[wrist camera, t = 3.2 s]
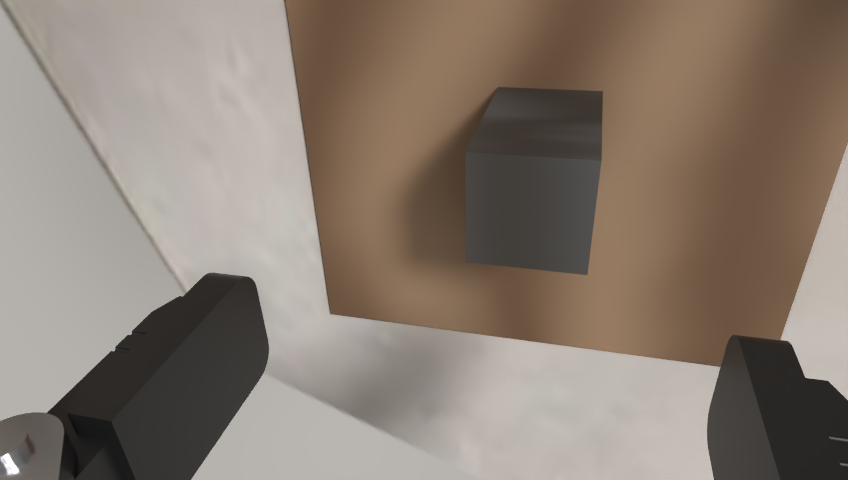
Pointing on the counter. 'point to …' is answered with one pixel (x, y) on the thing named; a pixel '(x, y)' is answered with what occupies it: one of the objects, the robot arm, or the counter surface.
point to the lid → (572, 163)
